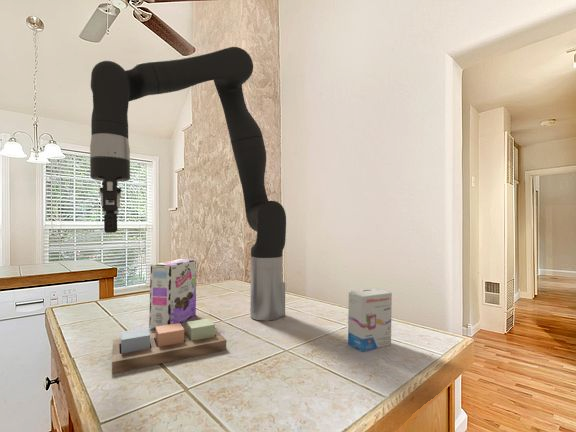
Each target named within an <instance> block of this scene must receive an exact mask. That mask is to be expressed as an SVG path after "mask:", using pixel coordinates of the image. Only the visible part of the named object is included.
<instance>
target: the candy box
mask: <svg viewBox="0 0 576 432" xmlns="http://www.w3.org/2000/svg"><path fill="white" fill-rule="evenodd" d="M149 276H150V283H149V322H148V325H149V326H148V329H152V330H153V329H154V330H156V326H162V325H169V324H175V323H180V324H181V325H182V323H184V322H185V321H186V322H187V320H189V319H190V318H193V317H194V316H196V315H197V259H192V258H191V259H185V258H178V259H174V260H169V261H165V262H159V263H153V264H150V275H149Z"/></svg>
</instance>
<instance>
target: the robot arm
mask: <svg viewBox="0 0 576 432" xmlns="http://www.w3.org/2000/svg"><path fill="white" fill-rule="evenodd" d="M253 71H254V62H253V60H252V57H251V56H250V54H249V53H248V52H247V51H246V50H245V49H243V48H241V47H238V46H230V47H226V48H222V49H219V50H216V51H213V52H210V53H206V54H201V55H196V56H191V57H189V56H188V57H186V58H185V57H183V58H178V59H177V58H176V59H169V60H157V61H156V60H155V61H148V62H147V61H145V62H140V63H138V64H136V65H135V66H133V68H131V69H124V68H123V66H121V65H120V64H118V63H116V62H115V61H111V60H102V61H99V62H98V63H96V64H95V65H94V66H93V68H92V69H91V76H90V89H91V93H92V113H91V123H90V124H91V125H90V127H91V130H90V131H91V134H90V135H91V137H90V145H89V161H90V162H89V163H90V164H89V165H90V167H89V168H90V169H89V172H90V173H89V174H90V179H92V180H95V181H102V182H101V186H102V187H99V195H100V206H101V209H102V213H103V218H104V220H103V221H104V222H103V223H104V226H103V228H104V230H103V231H104V232H105V233H106V234H115V233H117V231H118V215H119V208H120V207H121V198H122V188H121V187H120V188H119V187H118V186H119V184H118V183H119V182H127V181H129V180H130V179H131V156H130V155H131V151H130V150H131V149H130V144H129V143H130V142H129V120H128V113H129V105H130V104H129V102H132V101H136V100H138V99H141V98H144V97H145V98H146V97H147V96H155V95H163V94H168V93H173V92H178V91H182V90H186V89H189V88H190V87H193V86H197V85H199V84H202V83H205V82H206V83H207V82H210V81H213V83H214V86H215V89H216V92H217V94H218V97H219V100H220V103H221V106H222V109H223V110H222V111H223V113H224V118H225V123H226V128H227V130H228V134H229V135H228V136H229V139H230V145H231V148H232V153H233V157H234V160H235V164H236V167H237V169H236V170H237V172H238V176H239V181H240V184H241V188H242V189H241V190H242V195H243V201H244V209H245V210H244V211H245V217H246V221H247V224H248V225H249V227H250V228H251V230H253V231H254V232H256V240H255V243H254V244H253V245H252V246H251V248H250V307H249V308H250V310H249V311H250V318H251V319H254V320H257V321H275V320H279V319H281V318H282V317H286V283H285V282H284V281H283V251H284V249H285V246H286V236H287V235H286V234H287V216H286V215H287V214H286V213H287V212H286V210H285V208H284V206H283V205H282V204H281V203H280V202H279V201H276V200H269V198H268V194H267V192H266V190H267V189H266V184H265V178H266V177H265V176H266V175H265V174H266V166H267V150H266V145H265V140H264V137H263V136H264V135H263V133H262V131H261V128H260V126H259V124H258V123H257V122H256V120H255V119H254V117H253V115H252V114H251V113H250V112H249V109H248V107H247V105H246V101H245V96H244V91H243V85H244V83H246V82H247V81H248V80H249V79H250V78H251V76H252V75H253Z"/></svg>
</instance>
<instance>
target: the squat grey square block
mask: <svg viewBox="0 0 576 432" xmlns="http://www.w3.org/2000/svg"><path fill="white" fill-rule="evenodd" d="M150 334H151V333H150V330H149V327H143V328H138V329H131V330H125V331H124V330H123V331H121V332H120V339H121V353H120V354H122V353H128V352H133V351H139V350H144V349H150Z"/></svg>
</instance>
